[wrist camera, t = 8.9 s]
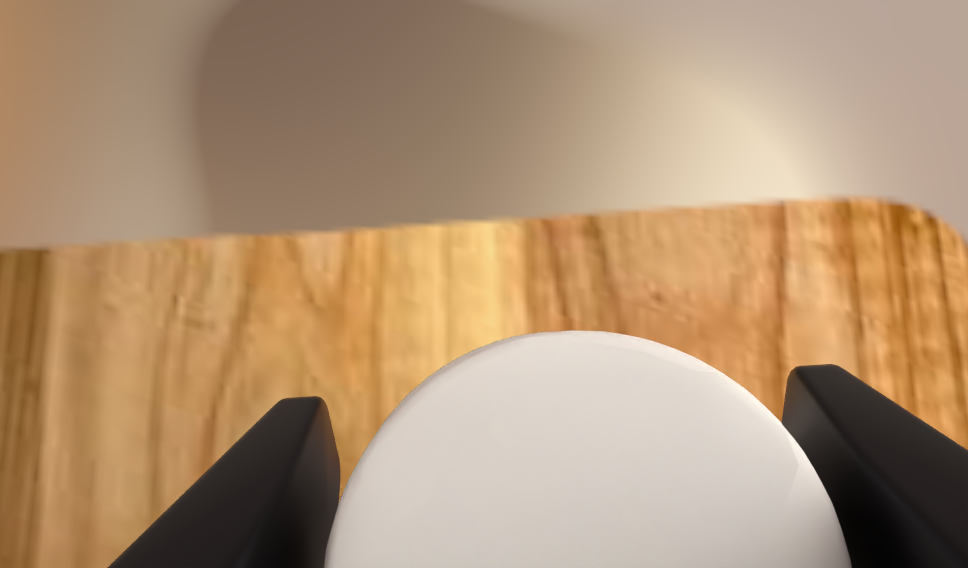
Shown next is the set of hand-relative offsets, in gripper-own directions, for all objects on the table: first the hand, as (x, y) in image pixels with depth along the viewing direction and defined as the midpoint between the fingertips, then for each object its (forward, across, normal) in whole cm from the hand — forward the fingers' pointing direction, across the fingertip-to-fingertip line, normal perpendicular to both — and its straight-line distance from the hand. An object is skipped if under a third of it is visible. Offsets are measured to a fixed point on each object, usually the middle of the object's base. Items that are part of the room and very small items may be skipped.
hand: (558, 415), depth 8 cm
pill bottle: (+4, 0, +6) cm, 7 cm away
